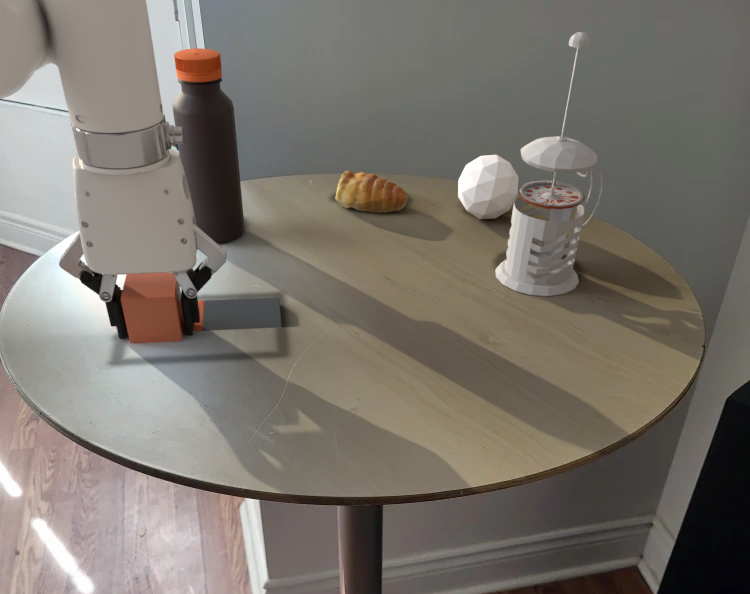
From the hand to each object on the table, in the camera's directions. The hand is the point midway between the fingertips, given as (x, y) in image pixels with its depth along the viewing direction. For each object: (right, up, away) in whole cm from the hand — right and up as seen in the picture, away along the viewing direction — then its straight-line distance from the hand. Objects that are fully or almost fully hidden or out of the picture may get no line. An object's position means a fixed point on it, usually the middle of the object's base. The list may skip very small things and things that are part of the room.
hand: (157, 328), depth 78 cm
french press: (+42, +9, +13) cm, 45 cm away
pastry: (+21, +23, +27) cm, 41 cm away
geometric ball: (+36, +20, +25) cm, 49 cm away
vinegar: (+2, +16, +19) cm, 25 cm away
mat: (+4, -1, +1) cm, 5 cm away
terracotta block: (0, 0, 0) cm, 0 cm away
